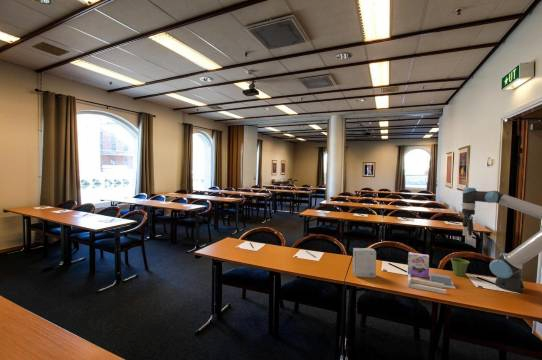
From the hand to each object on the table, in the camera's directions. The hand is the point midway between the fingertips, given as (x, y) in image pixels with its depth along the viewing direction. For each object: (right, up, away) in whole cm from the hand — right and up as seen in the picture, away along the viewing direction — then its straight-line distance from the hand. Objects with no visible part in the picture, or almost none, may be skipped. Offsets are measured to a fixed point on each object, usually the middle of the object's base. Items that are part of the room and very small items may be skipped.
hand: (467, 237), depth 189 cm
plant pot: (+2, -32, +11) cm, 33 cm away
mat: (-21, -32, -7) cm, 39 cm away
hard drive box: (-73, -31, +7) cm, 80 cm away
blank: (-24, -31, -5) cm, 39 cm away
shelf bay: (-37, -32, -12) cm, 50 cm away
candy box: (-31, -31, +9) cm, 45 cm away
